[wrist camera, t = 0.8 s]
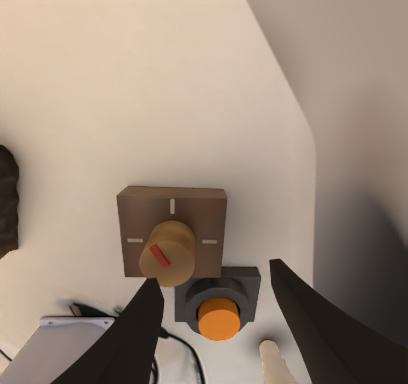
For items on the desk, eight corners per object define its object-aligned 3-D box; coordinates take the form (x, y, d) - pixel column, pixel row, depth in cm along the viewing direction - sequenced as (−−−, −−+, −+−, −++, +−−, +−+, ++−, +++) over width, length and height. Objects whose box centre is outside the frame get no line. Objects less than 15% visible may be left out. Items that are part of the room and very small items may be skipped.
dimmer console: (133, 258, 23) (124, 278, 20) (127, 185, 20) (115, 195, 17) (217, 259, 23) (220, 279, 20) (223, 188, 20) (227, 199, 17)
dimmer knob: (203, 248, 19) (204, 276, 15) (165, 266, 20) (157, 297, 16) (181, 212, 18) (177, 234, 14) (141, 232, 18) (126, 258, 15)
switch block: (176, 310, 25) (173, 338, 22) (176, 265, 23) (172, 287, 20) (250, 310, 26) (258, 337, 23) (257, 266, 24) (267, 288, 20)
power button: (197, 325, 22) (197, 341, 21) (199, 295, 21) (199, 309, 19) (235, 325, 22) (238, 340, 21) (238, 295, 21) (242, 309, 19)
